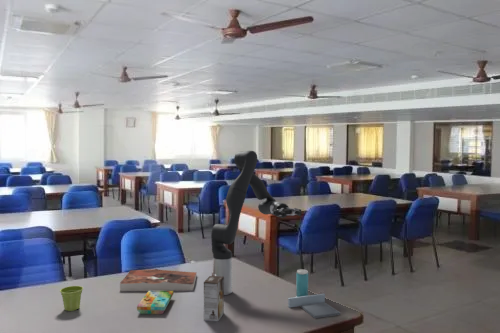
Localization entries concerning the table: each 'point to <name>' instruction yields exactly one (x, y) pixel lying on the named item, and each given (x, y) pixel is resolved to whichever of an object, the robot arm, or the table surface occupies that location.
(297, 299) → the wall
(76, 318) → the table surface
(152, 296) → the puzzle game
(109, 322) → the table surface
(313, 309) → the mat
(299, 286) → the jar
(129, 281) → the board game box
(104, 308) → the table surface
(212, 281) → the coffee box
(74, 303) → the plant pot
